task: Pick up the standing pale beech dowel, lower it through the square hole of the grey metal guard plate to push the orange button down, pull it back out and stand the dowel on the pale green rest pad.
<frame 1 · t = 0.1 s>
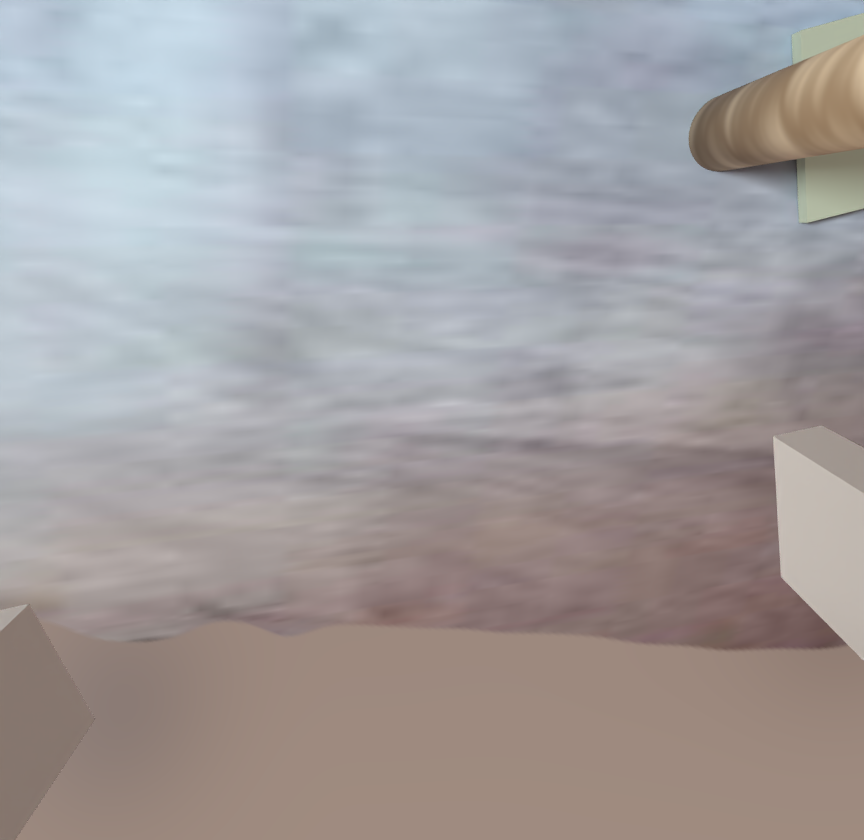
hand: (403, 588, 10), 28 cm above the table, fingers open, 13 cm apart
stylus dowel: (723, 133, 33), on the table
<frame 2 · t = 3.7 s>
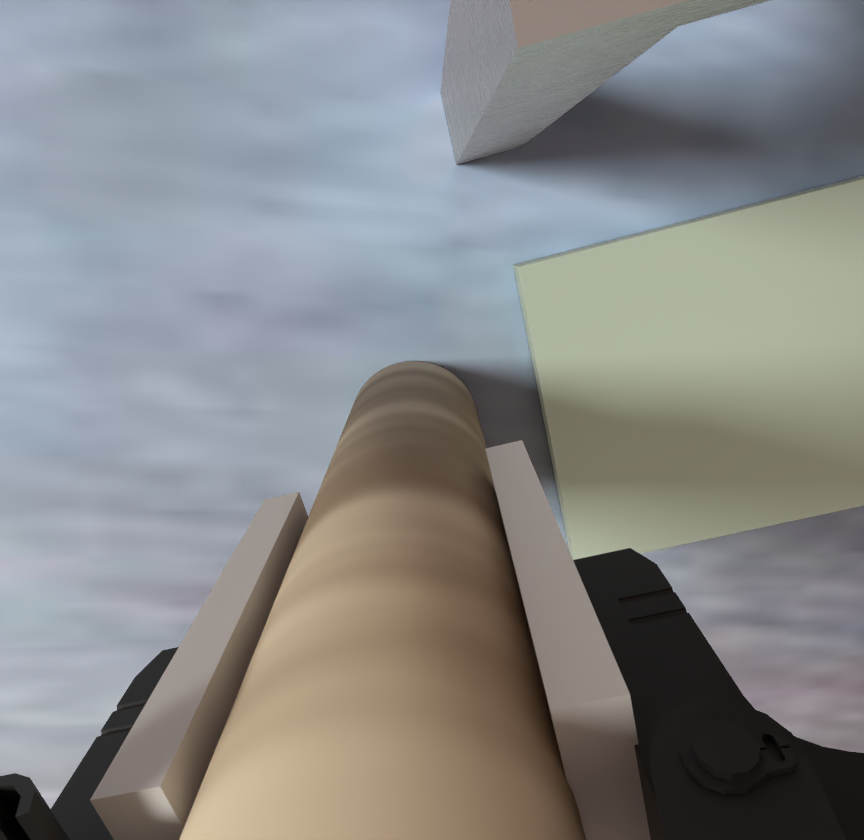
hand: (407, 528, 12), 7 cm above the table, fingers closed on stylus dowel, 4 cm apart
rest pad: (701, 385, 18), on the table
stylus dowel: (414, 422, 18), on the table, touching gripper
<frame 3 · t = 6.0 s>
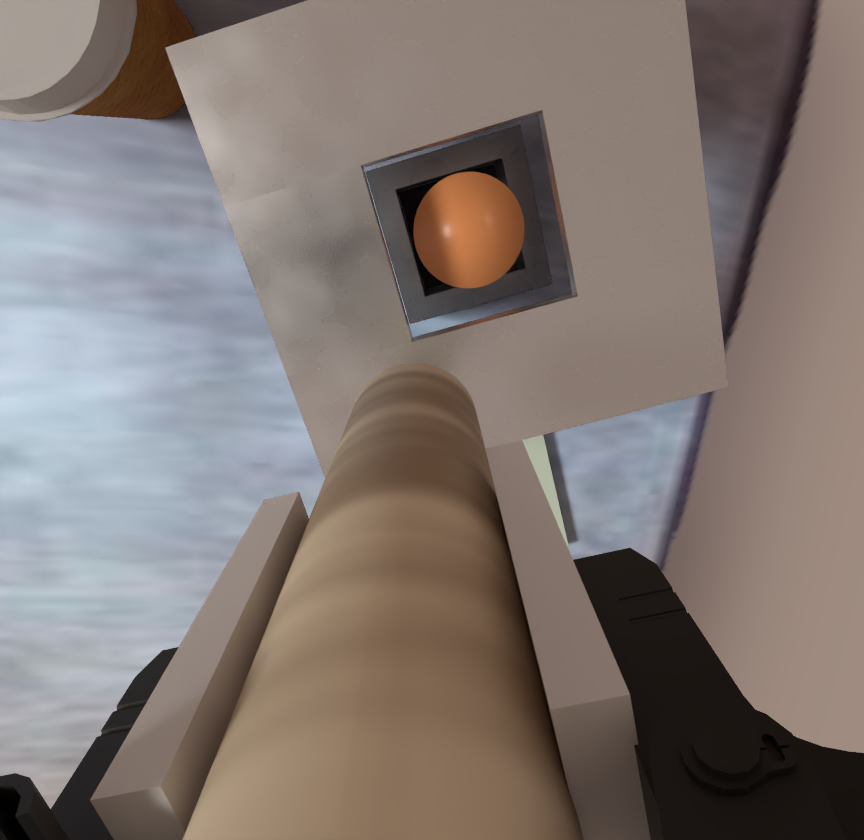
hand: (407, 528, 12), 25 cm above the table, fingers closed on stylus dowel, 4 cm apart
guard: (458, 228, 33), on the table
rest pad: (479, 495, 39), on the table
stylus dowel: (414, 423, 18), point 18 cm above the table, touching gripper
disposable coffee cup: (141, 54, 31), on the table
button: (464, 230, 28), point 6 cm above the table, slide at 0.0 cm
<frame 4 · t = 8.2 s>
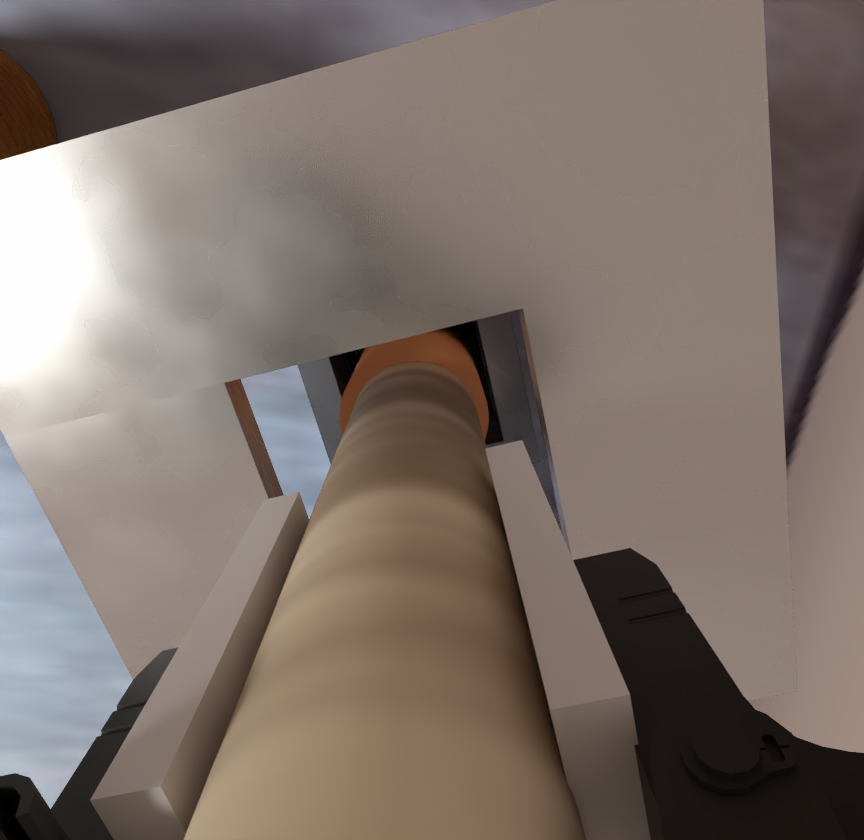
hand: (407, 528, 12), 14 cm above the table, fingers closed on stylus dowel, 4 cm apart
guard: (417, 367, 25), on the table
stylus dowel: (415, 421, 19), point 7 cm above the table, touching button, gripper
button: (415, 393, 21), point 4 cm above the table, slide at 2.2 cm, touching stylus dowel
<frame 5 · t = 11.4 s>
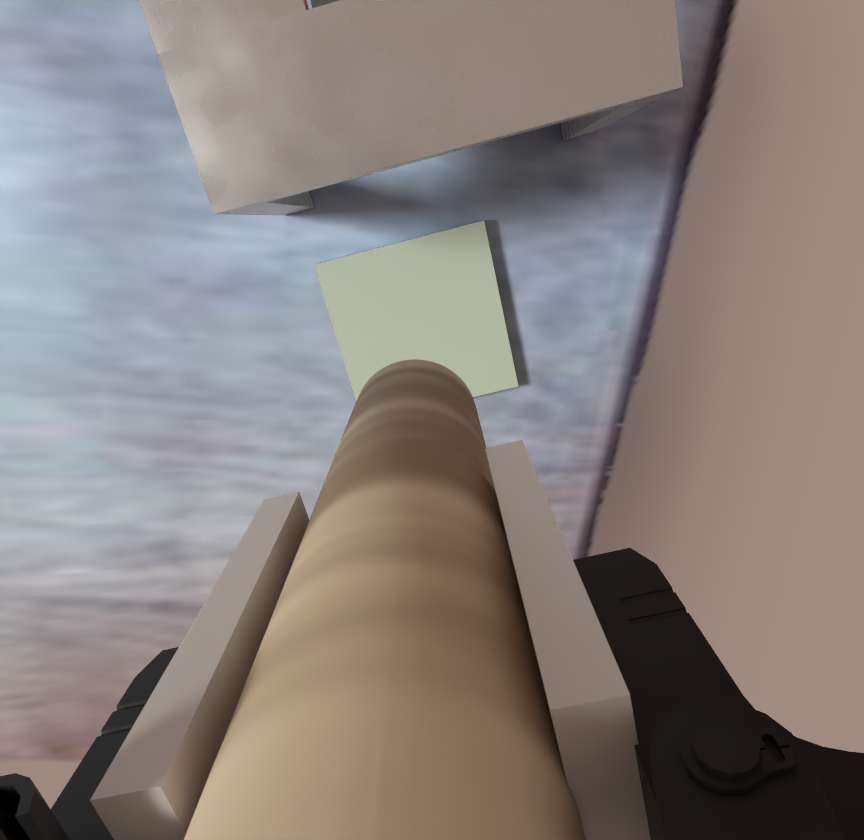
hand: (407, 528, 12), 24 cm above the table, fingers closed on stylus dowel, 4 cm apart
rest pad: (420, 325, 35), on the table
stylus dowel: (415, 419, 19), point 17 cm above the table, touching gripper
when the fingers open (9 cm above the table, at t = 14.0 s): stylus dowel stays where it is, resting on rest pad.
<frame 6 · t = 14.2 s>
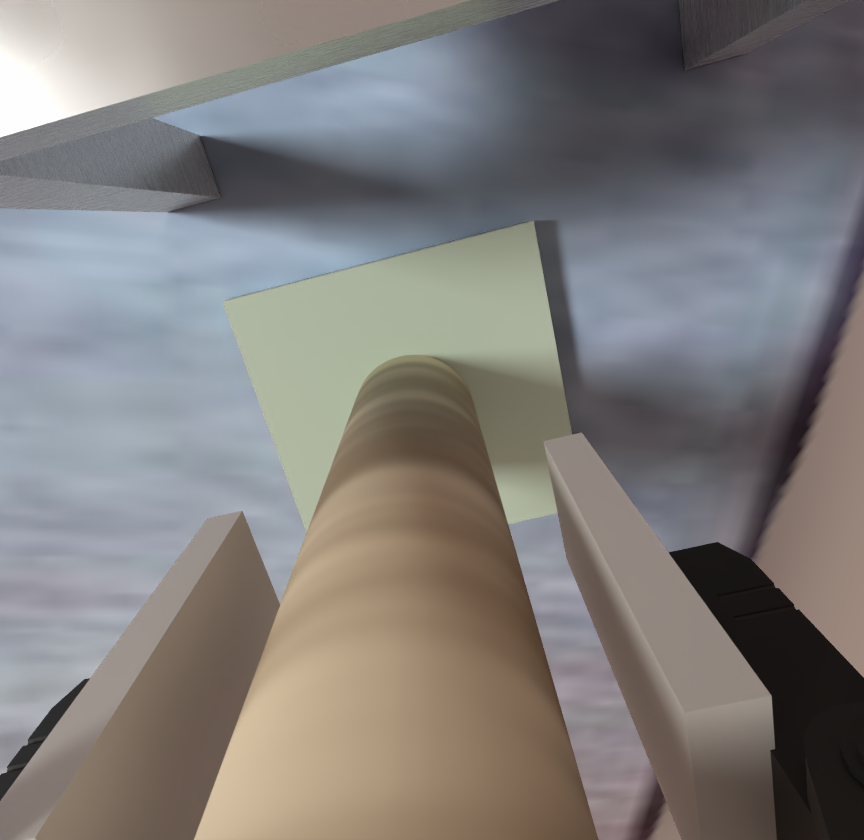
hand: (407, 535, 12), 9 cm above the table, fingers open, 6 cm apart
rest pad: (415, 403, 20), on the table
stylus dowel: (414, 412, 19), point 1 cm above the table, touching rest pad
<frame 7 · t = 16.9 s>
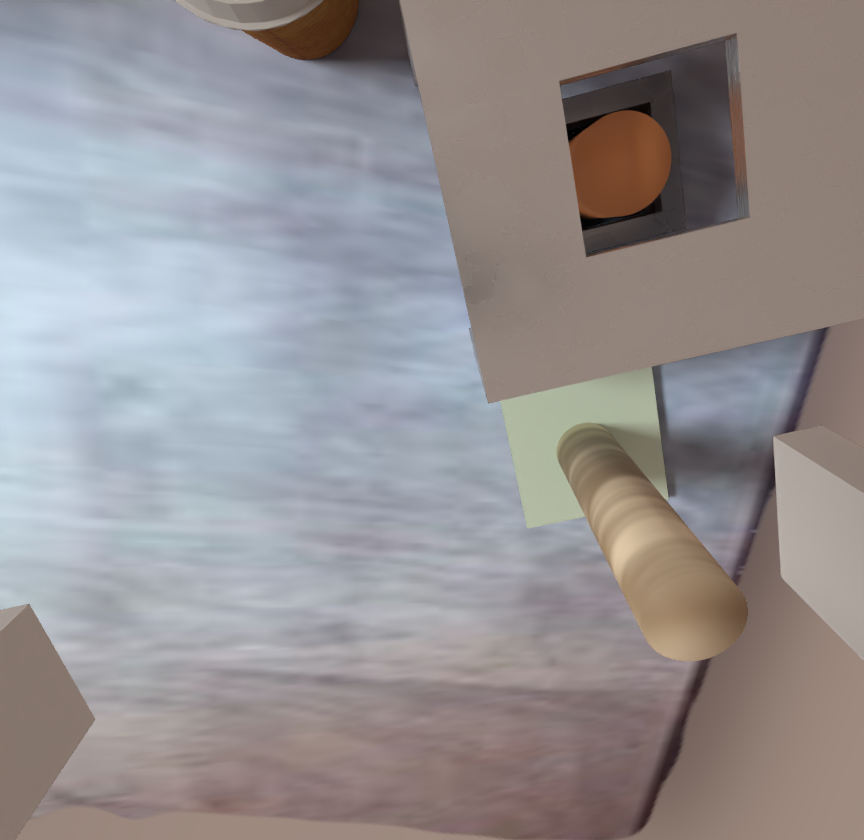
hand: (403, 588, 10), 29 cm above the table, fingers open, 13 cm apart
guard: (589, 177, 35), on the table
rest pad: (583, 445, 40), on the table
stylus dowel: (585, 450, 39), point 1 cm above the table, touching rest pad
button: (605, 171, 31), point 4 cm above the table, slide at 2.4 cm
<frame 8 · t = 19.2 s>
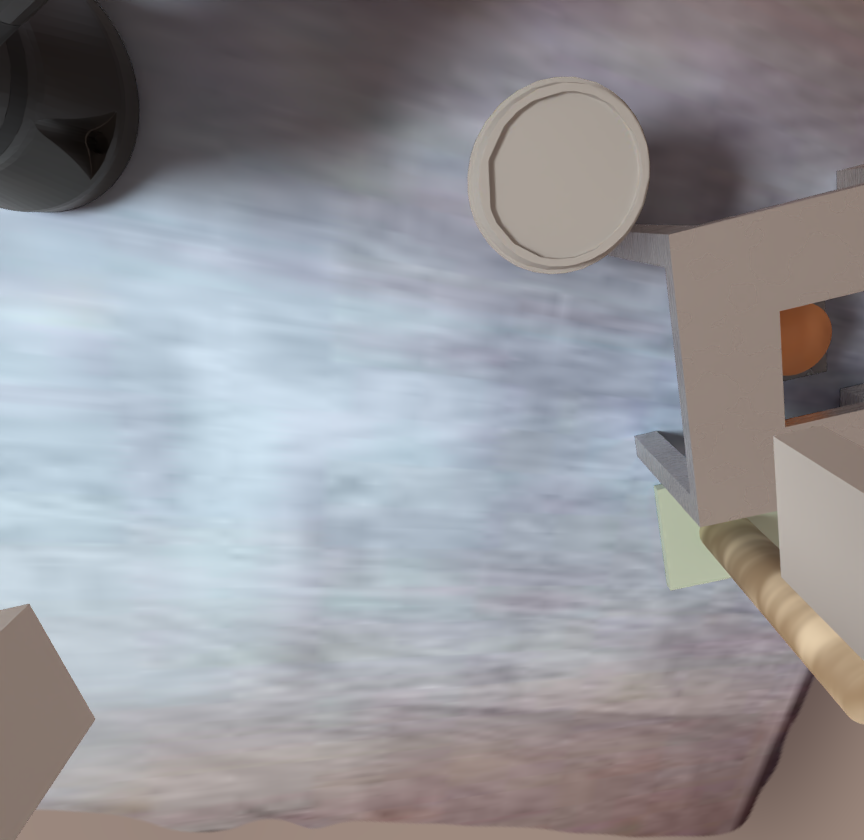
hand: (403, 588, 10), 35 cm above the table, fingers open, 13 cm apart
guard: (741, 322, 43), on the table
rest pad: (719, 524, 49), on the table
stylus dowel: (723, 529, 48), point 1 cm above the table, touching rest pad
disposable coffee cup: (525, 190, 40), on the table
button: (767, 331, 40), point 4 cm above the table, slide at 2.4 cm
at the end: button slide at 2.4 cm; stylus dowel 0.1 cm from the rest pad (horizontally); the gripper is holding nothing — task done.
